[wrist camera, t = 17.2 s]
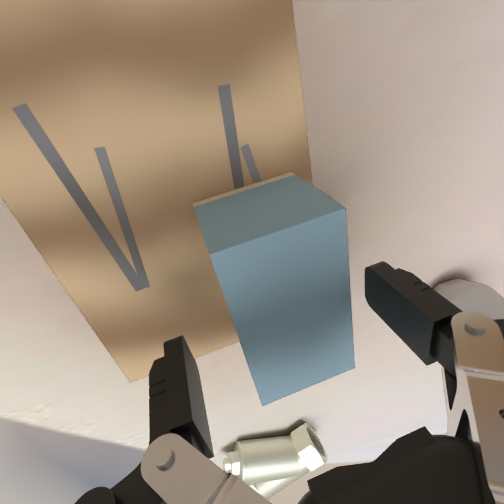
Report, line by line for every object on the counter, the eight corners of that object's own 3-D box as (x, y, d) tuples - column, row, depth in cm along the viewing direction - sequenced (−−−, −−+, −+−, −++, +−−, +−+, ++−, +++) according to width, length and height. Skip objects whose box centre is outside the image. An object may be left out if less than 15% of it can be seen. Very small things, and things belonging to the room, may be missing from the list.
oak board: (-132, -52, 10) (-191, -79, 8) (256, -120, 11) (274, -155, 10) (131, 357, 20) (129, 383, 19) (312, 291, 22) (326, 308, 20)
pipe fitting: (211, 446, 29) (252, 472, 32) (217, 493, 25) (262, 516, 28) (281, 398, 28) (315, 429, 31) (297, 439, 25) (333, 469, 28)
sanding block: (191, 203, 14) (209, 254, 10) (291, 171, 15) (345, 208, 11) (237, 334, 19) (262, 406, 15) (311, 306, 20) (354, 367, 16)
